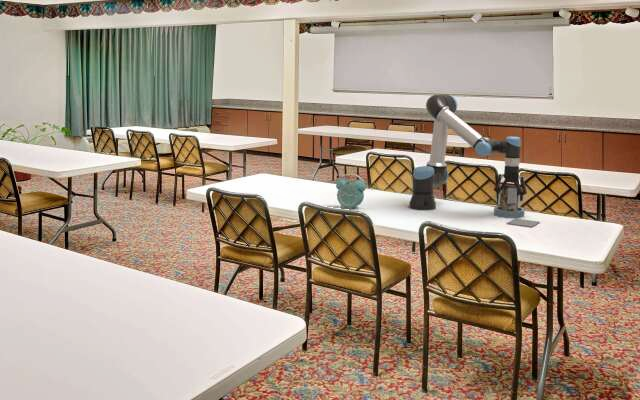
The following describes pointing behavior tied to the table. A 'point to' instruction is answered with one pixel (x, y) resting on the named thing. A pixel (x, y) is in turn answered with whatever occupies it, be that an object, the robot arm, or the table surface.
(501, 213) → the bowl
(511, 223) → the mat
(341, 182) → the alarm clock
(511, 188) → the coffee box
